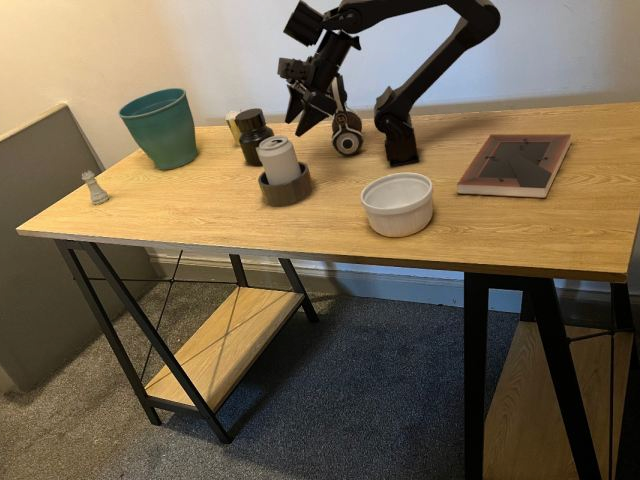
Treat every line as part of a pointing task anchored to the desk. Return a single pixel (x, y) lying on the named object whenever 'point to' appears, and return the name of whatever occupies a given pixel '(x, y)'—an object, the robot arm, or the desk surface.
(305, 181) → the bowl
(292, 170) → the can
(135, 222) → the desk surface
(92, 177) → the rook chess piece
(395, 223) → the ramekin
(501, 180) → the picture frame
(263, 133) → the ink bottle
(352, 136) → the headset
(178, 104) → the flower pot
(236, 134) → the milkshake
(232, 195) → the desk surface
